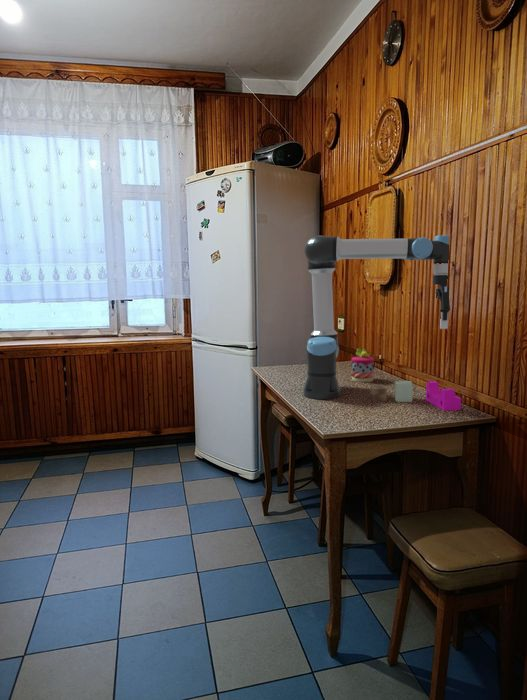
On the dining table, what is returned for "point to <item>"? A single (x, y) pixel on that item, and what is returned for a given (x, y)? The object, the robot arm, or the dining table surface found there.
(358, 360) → the cake
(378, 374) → the dining table surface
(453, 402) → the toy block
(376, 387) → the walnut block
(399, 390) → the sage block
